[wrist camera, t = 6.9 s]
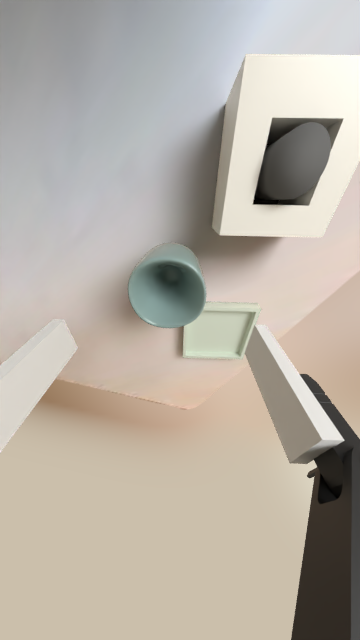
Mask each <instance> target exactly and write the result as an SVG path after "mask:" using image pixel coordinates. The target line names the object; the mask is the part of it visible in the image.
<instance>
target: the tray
mask: <svg viewBox="0 0 360 640" xmlns="http://www.w3.org/2000/svg"><path fill="white" fill-rule="evenodd" d="M260 311H261V308H260V306H259V305H258V303H236V302H205V305H204V308H203V311H202V312H201V314H200V315H199V317H198V318H197V319H196V320H194V321H193V322H191V323H190V324H187V325H185V326H184V334H183V358H209V359H243V357H244V354H245V350H246V347H247V344H248V342H249V339H250V336H251V333H252V330H253V328H254V325H256V322H257V319H258V317H259V314H260Z"/></svg>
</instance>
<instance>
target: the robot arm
mask: <svg viewBox="0 0 360 640" xmlns="http://www.w3.org/2000/svg"><path fill="white" fill-rule="evenodd" d="M77 349H78V347H77V345H76V343H75V341H74V339H73V337H72V335H71V333H70V331H69V329H68V327H67V325H66V323H65V321H64V320H56V319H53V320H52V321H51V322H50V323H48V324H47V325H46V326H45V327H44V328H43V329H41V330H40V331H39V332H38V333H37V334H36V335H35V336H33V337H32V338H31V339H30V340H29V341H28V342H27V343H25V344H24V345H23V346H22V347H21V348H20V349H18V350H17V351H16V352H15V353H14V354H13V355H12V356H10V357H9V358H8V359H7V360H6V361H5V362H4V363H2V364H1V365H0V452H1V451H2V450H3V448H4V447H5V445H6V444H7V443H8V441H9V440H10V439H11V437H12V436H13V435H14V434H15V432H16V431H17V430H18V428H19V427H20V426H21V424H22V423H23V421H24V420H25V419H26V417H27V416H28V415H29V413H30V412H31V411H32V409H33V408H34V407H35V405H36V404H37V403H38V401H39V400H40V399H41V397H42V396H43V395H44V393H45V392H46V391H47V389H48V388H49V387H50V385H51V384H52V383H53V381H54V380H55V379H56V377H57V376H58V374H59V373H60V372H61V370H62V369H63V368H64V366H65V365H66V364H67V362H68V361H69V360H70V358H71V357H72V356H73V354H74V353H75V352H76V350H77ZM245 355H246V357H247V360H248V362H249V365H250V367H251V370H252V372H253V375H254V377H255V379H256V382H257V384H258V387H259V389H260V391H261V394H262V397H263V399H264V401H265V404H266V406H267V409H268V411H269V414H270V416H271V419H272V421H273V423H274V426H275V428H276V431H277V433H278V436H279V438H280V440H281V443H282V445H283V448H284V450H285V453H286V455H287V458H288V460H289V463H298V464H307V463H309V462H311V461H312V460H314V461H315V463H316V465H317V468H315V469H313V470H312V471H310V472H309V473H308V475H307V477H308V478H312V477H314V476H315V477H314V485H313V491H312V498H311V505H310V513H309V519H308V526H307V533H306V540H305V547H304V554H303V561H302V568H301V575H300V582H299V589H298V596H297V603H296V609H295V617H294V623H293V631H292V638H291V640H360V439H359V438H358V437H357V435H356V434H355V433H354V431H353V430H352V429H351V427H350V426H349V425H348V423H347V422H346V421H345V419H344V418H343V417H342V415H341V414H340V413H339V411H338V410H337V409H336V407H335V406H334V405H333V404H332V403H331V401H330V399H329V398H328V397H327V395H325V392H324V391H323V390H322V389H321V387H320V386H319V384H317V382H316V381H314V380H313V379H312V378H311V377H309V375H307V374H299V373H298V371H297V370H296V369H295V367H294V366H293V364H292V363H291V361H290V360H289V358H288V357H287V355H286V354H285V353H284V351H283V349H282V348H281V347H280V345H279V344H278V342H277V341H276V339H275V338H274V336H273V335H272V333H271V332H270V330H269V329H268V327H267V326H266V325H254V328H253V330H252V333H251V336H250V339H249V342H248V344H247V347H246V350H245Z"/></svg>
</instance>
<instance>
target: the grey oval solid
mask: <svg viewBox="0 0 360 640" xmlns="http://www.w3.org/2000/svg"><path fill="white" fill-rule="evenodd" d="M330 150H331V141H330V136H329V133H328V131H327V130H326V128H325V127H324V126H323V125H321V124H319V123H316V122H308V123H304V124H302V125H300V126H298V127H296V128H295V129H293V130H292V131H290V132H289V133H287V134H286V135H284V136H283V137H281V138H280V139H278V140H277V141H275V142H274V143H272V144H271V145H269V146H268V147H266V148H265V152H264V156H263V161H262V165H261V169H260V174H259V178H258V182H257V187H256V191H255V195H254V199H256V200H283V199H294V198H297V197H299V196H301V195H303V194H304V193H306V192H307V191H308V190H310V189H311V188H312V187H313V186H314V185H315V183H316V182H317V181H318V180H319V178H320V177H321V175H322V173H323V172H324V170H325V168H326V165H327V163H328V160H329V156H330Z"/></svg>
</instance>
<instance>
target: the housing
mask: <svg viewBox="0 0 360 640" xmlns="http://www.w3.org/2000/svg"><path fill="white" fill-rule="evenodd" d="M308 122H316V123H319V124H321V125H323V126H324V127H325V128H326V130H327V131H328V133H329V136H330V141H331V150H330V156H329V160H328V163H327V165H326V168H325V170H324V172H323V173H322V175H321V177H320V178H319V180H318V181H317V182H316V183H315V185H314V186H313V187H312V188H311V189H310V190H308V191H307V192H306V193H304V194H303V195H301V196H299V197H297V198H294V199H283V200H279V202H278V205H262V204H253V200H254V195H255V191H256V187H257V182H258V178H259V174H260V169H261V165H262V161H263V156H264V152H265V147H266V143H274V142H275V141H277V140H278V139H280V138H281V137H283V136H284V135H286V134H287V133H289V132H290V131H292V130H293V129H295V128H296V127H298V126H300V125H302V124H304V123H308ZM359 161H360V55H293V54H246V55H245V58H244V60H243V62H242V65H241V67H240V70H239V72H238V75H237V77H236V79H235V82H234V84H233V87H232V89H231V92H230V94H229V96H228V99H227V101H226V107H225V115H224V124H223V133H222V141H221V150H220V159H219V167H218V176H217V185H216V194H215V202H214V211H213V220H212V228H213V229H214V230H215V231H216V232H217V233H218V234H219V235H227V236H274V237H321V238H322V237H323V235H324V233H325V231H326V229H327V227H328V225H329V223H330V221H331V218H332V216H333V214H334V212H335V210H336V208H337V206H338V204H339V202H340V200H341V198H342V196H343V194H344V192H345V190H346V188H347V186H348V183H349V181H350V179H351V177H352V175H353V173H354V171H355V169H356V167H357V165H358V163H359Z"/></svg>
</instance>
